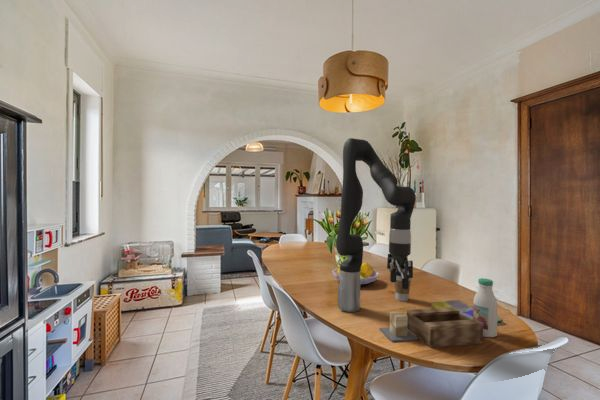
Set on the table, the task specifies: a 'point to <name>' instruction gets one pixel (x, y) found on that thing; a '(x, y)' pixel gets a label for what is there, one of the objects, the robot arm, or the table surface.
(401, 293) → the coffee cup
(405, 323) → the maple block
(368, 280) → the fruit bowl
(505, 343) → the table surface
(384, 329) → the slate pad
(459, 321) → the walnut box
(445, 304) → the dish towel
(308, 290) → the table surface
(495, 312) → the milk bottle
